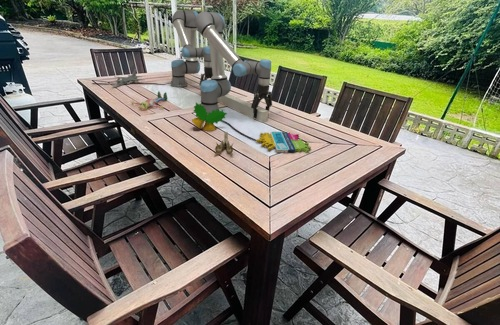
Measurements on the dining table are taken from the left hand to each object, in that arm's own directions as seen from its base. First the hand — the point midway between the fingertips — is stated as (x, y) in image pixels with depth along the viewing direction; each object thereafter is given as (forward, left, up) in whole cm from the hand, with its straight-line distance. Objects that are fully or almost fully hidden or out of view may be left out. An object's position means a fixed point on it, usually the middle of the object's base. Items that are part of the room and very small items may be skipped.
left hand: (208, 93), depth 229 cm
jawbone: (+48, -96, -2) cm, 108 cm away
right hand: (+56, -40, 0) cm, 69 cm away
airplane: (-85, +5, -2) cm, 86 cm away
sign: (+76, -74, -2) cm, 106 cm away
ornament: (+29, -70, -2) cm, 76 cm away
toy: (-27, -43, -2) cm, 51 cm away
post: (+28, -20, -2) cm, 34 cm away
